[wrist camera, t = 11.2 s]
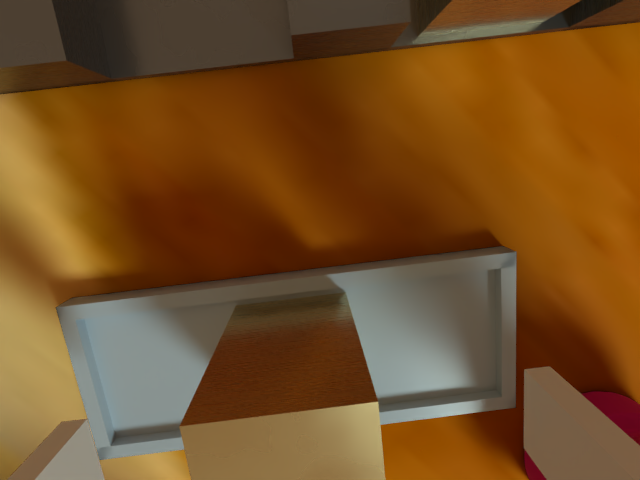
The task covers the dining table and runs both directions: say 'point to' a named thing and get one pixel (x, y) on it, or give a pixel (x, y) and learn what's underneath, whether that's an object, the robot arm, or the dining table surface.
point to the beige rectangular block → (286, 398)
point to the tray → (355, 279)
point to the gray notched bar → (224, 35)
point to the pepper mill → (617, 408)
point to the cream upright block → (483, 14)
